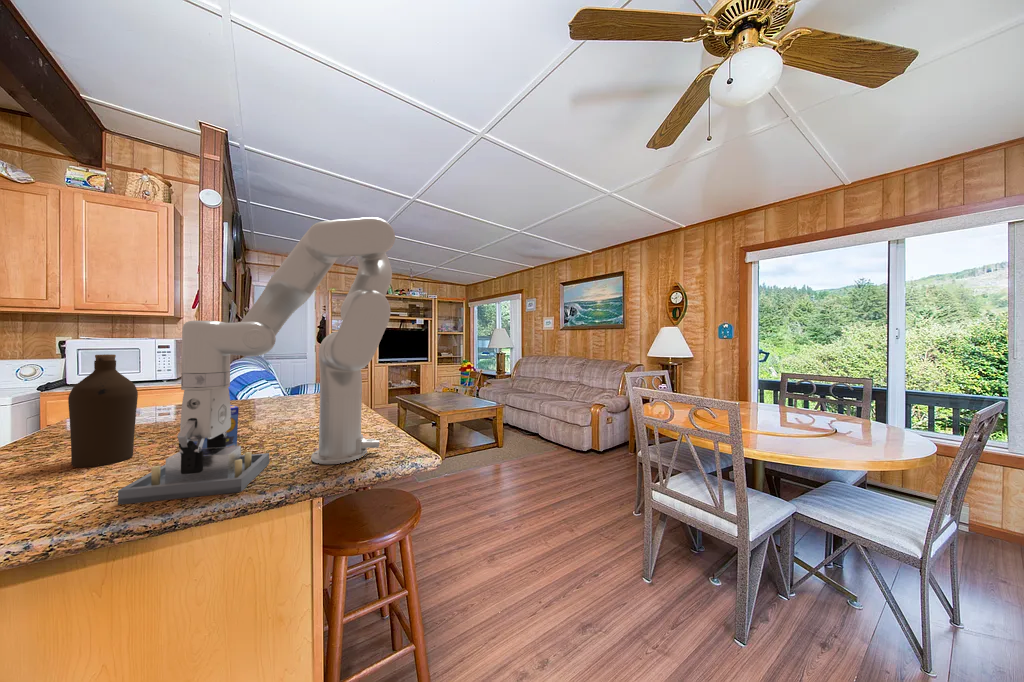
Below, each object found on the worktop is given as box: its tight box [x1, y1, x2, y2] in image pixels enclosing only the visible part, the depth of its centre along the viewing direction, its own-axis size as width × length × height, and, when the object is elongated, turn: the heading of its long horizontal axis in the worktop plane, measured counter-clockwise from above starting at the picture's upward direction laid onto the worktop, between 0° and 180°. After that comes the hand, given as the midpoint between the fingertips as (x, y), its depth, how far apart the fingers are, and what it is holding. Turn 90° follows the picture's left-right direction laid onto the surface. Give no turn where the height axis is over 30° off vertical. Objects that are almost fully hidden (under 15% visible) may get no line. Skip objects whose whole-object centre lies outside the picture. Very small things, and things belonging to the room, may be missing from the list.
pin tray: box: [117, 451, 270, 506], centre depth 71 cm, size 18×16×4 cm
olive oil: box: [67, 353, 139, 468], centre depth 82 cm, size 11×11×25 cm
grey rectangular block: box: [165, 445, 242, 484], centre depth 71 cm, size 10×6×5 cm, turn 108°
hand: (204, 464), depth 71 cm, fingers open, 9 cm apart
